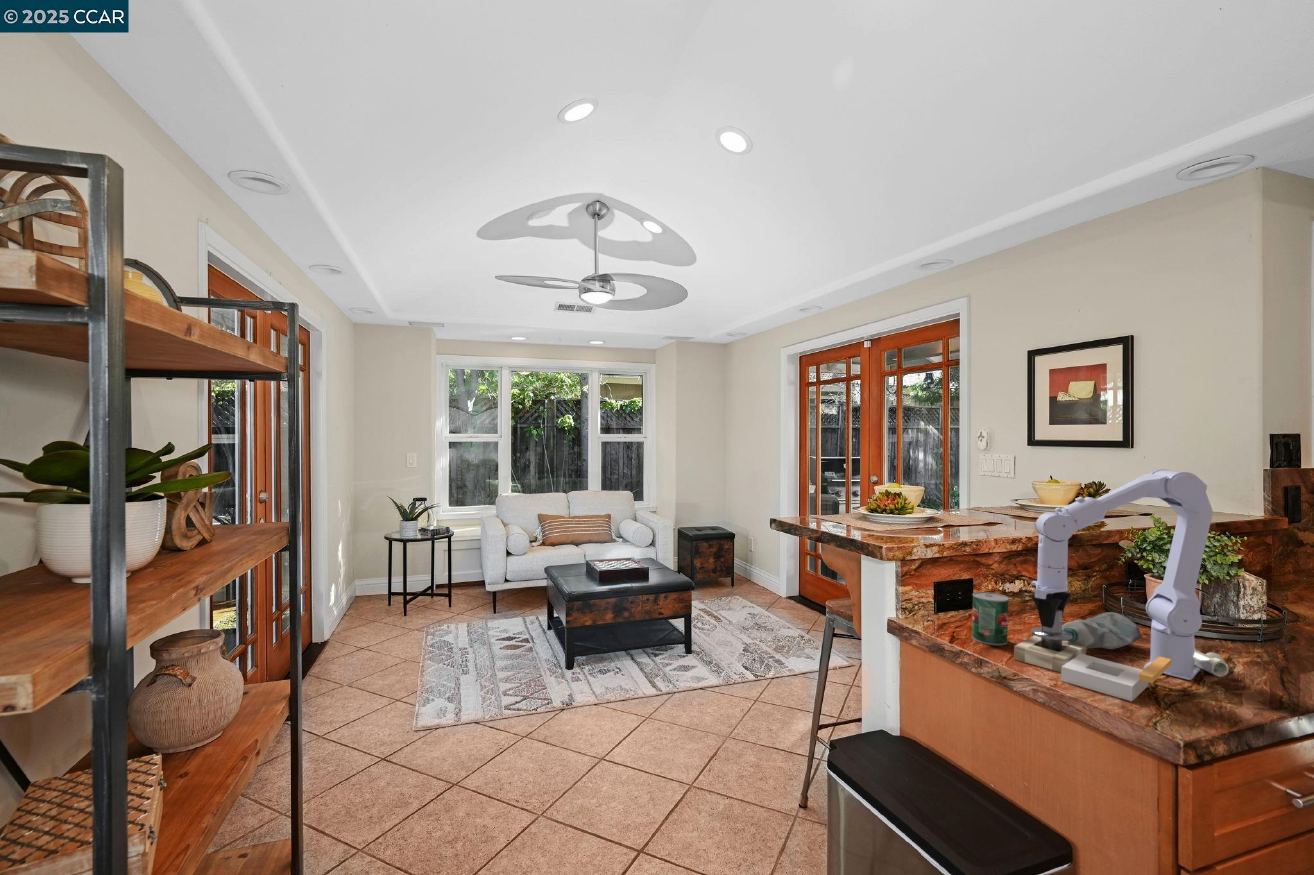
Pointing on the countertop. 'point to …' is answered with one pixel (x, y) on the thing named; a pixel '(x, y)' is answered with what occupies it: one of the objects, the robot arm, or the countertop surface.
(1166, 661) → the bar
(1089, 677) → the socket block
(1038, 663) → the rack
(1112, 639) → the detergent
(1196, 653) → the pipe fitting
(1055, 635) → the glossy grey dome knob
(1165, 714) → the countertop surface
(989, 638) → the canned tomato
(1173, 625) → the robot arm
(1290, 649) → the countertop surface
